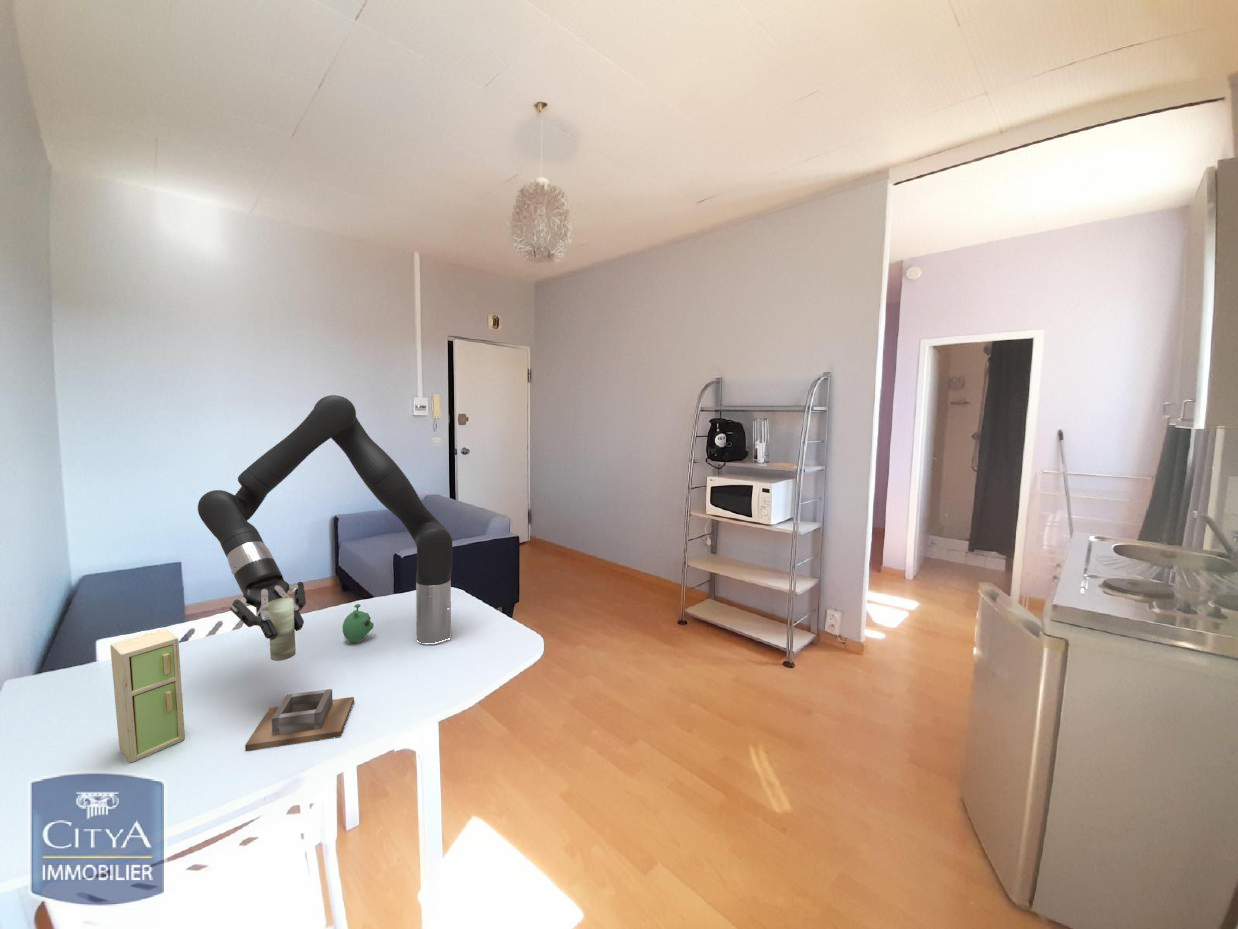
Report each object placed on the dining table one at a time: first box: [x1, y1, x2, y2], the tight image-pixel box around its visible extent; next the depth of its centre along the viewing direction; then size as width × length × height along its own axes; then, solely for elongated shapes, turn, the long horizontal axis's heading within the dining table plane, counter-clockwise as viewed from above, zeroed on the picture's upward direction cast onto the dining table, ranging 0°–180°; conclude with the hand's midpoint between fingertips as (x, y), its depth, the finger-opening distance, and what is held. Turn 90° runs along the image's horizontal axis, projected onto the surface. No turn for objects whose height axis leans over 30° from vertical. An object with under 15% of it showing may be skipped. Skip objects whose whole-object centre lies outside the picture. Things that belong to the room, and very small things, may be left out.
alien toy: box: [342, 603, 375, 643], centre depth 134 cm, size 7×8×10 cm
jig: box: [244, 688, 355, 752], centre depth 98 cm, size 16×12×5 cm
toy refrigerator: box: [109, 628, 186, 764], centre depth 90 cm, size 8×7×21 cm
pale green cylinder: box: [268, 597, 297, 662], centre depth 101 cm, size 4×4×12 cm
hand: (287, 632), depth 100 cm, fingers closed on pale green cylinder, 4 cm apart
